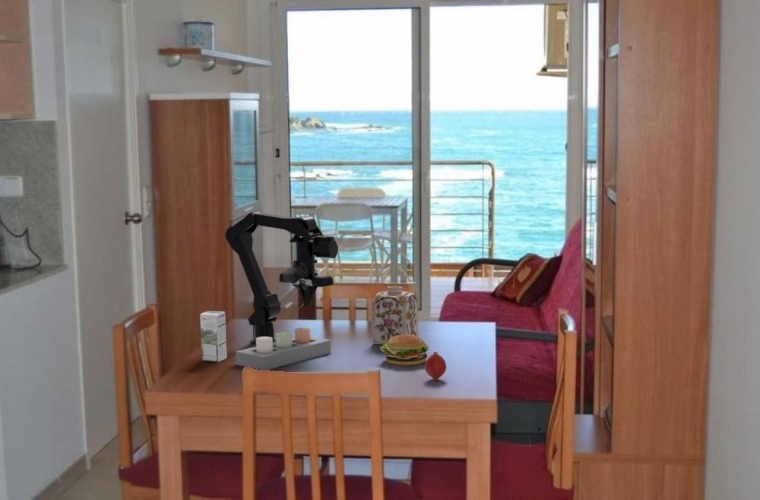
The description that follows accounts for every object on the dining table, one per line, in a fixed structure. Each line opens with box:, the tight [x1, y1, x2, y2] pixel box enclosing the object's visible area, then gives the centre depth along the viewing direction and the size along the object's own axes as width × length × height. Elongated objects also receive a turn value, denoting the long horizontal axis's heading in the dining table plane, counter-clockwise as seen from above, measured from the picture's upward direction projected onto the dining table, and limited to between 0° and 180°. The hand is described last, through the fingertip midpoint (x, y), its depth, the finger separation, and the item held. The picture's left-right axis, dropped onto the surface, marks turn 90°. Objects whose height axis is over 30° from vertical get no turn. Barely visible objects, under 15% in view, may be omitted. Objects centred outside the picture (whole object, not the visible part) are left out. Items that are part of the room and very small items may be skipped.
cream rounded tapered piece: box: [255, 337, 273, 354], centre depth 301 cm, size 5×5×6 cm
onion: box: [424, 351, 447, 381], centre depth 280 cm, size 6×6×8 cm
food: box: [379, 334, 430, 367], centre depth 301 cm, size 14×14×8 cm
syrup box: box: [199, 310, 228, 363], centre depth 307 cm, size 6×6×14 cm
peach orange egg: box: [294, 327, 312, 344], centre depth 313 cm, size 5×5×6 cm
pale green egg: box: [275, 331, 293, 349], centre depth 307 cm, size 5×5×6 cm
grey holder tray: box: [235, 336, 332, 371], centre depth 307 cm, size 12×28×4 cm, turn 140°
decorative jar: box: [371, 285, 419, 346], centre depth 327 cm, size 12×12×18 cm
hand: (306, 306), depth 321 cm, fingers closed
